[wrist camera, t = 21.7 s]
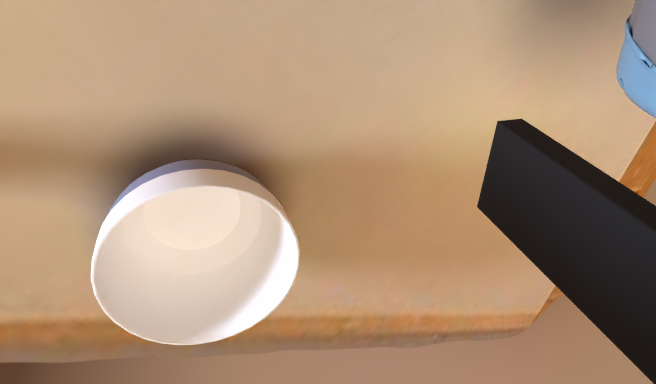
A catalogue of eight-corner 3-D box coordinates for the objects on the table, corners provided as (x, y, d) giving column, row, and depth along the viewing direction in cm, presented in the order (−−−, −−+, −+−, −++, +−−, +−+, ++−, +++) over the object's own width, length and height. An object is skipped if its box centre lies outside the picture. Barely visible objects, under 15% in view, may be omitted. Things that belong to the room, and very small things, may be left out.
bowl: (293, 239, 53) (319, 302, 45) (144, 294, 51) (145, 370, 43) (248, 104, 44) (270, 155, 36) (64, 165, 42) (46, 233, 34)
